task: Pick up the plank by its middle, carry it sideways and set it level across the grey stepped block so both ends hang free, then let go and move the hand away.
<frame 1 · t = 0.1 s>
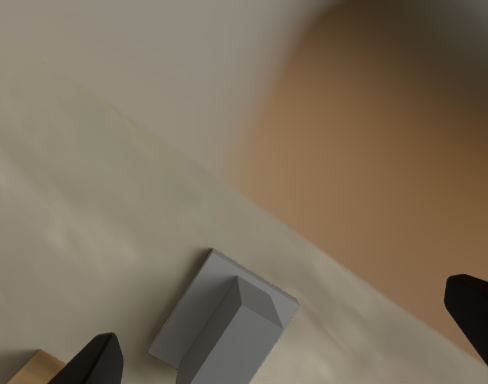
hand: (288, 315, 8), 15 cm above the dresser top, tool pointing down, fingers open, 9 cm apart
grey stepped block: (224, 320, 24), on the dresser top
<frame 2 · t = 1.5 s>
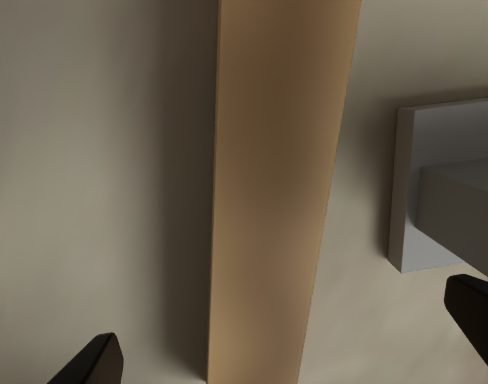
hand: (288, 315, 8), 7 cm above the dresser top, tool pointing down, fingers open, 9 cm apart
plank: (252, 208, 15), on the dresser top
grey stepped block: (476, 179, 15), on the dresser top
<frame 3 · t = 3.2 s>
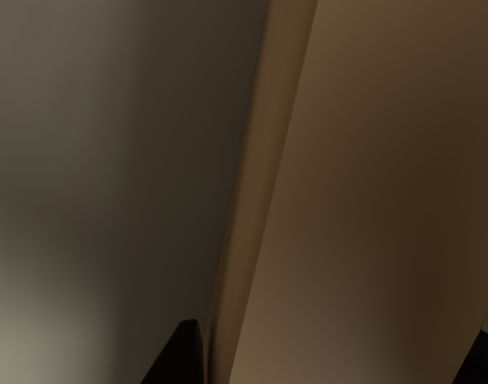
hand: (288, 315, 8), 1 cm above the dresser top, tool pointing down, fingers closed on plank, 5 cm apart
plank: (279, 288, 9), on the dresser top, touching gripper
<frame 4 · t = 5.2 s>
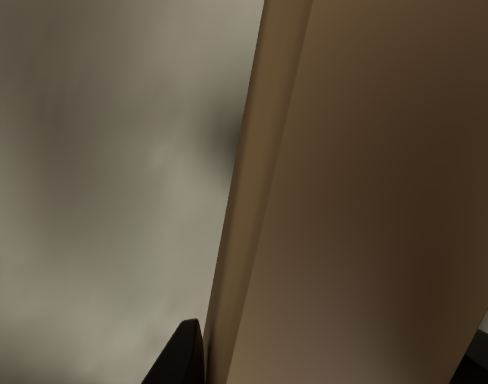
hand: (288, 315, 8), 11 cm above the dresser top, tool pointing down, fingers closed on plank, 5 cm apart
plank: (278, 287, 9), point 10 cm above the dresser top, touching gripper
when the fingers open (8 cm above the dresser top, at t = 7.0 s): plank stays where it is, resting on grey stepped block.
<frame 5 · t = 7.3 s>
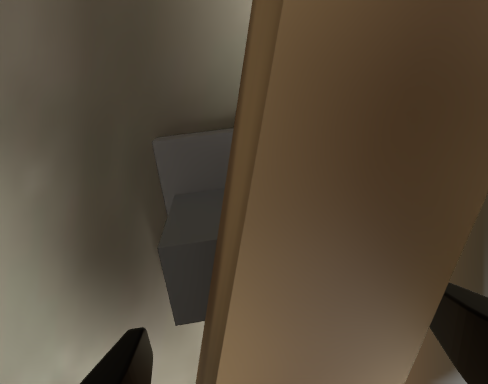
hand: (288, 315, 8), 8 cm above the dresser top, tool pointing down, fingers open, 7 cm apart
plank: (273, 272, 10), point 6 cm above the dresser top, touching grey stepped block
grey stepped block: (259, 203, 15), on the dresser top
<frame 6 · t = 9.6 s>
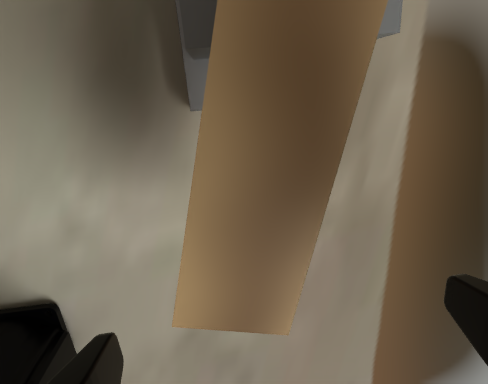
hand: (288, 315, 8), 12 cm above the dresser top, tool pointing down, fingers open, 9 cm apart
grey stepped block: (265, 25, 16), on the dresser top
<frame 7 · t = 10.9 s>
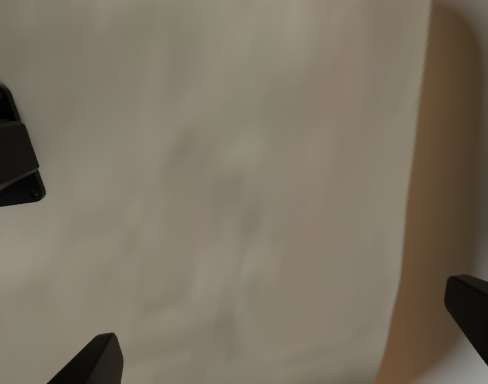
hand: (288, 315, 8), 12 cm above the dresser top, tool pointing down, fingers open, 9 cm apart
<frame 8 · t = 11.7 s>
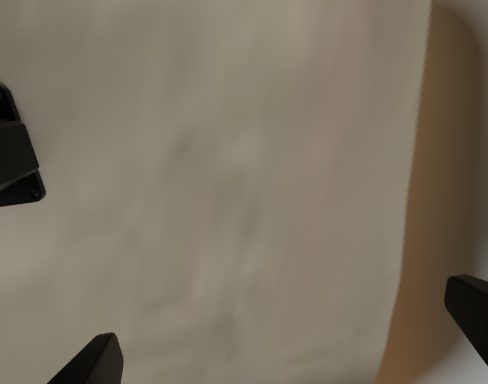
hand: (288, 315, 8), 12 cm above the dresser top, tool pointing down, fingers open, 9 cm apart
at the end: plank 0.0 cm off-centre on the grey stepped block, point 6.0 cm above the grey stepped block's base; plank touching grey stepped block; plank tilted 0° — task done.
